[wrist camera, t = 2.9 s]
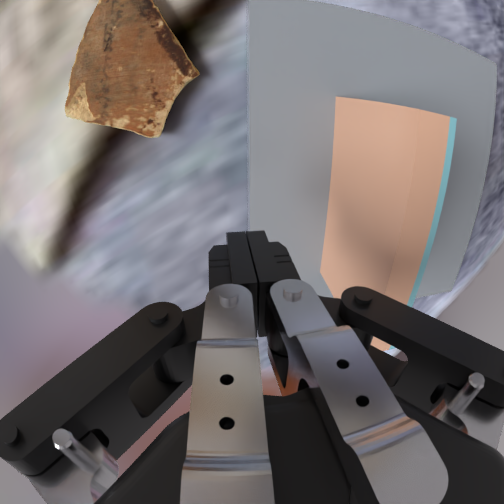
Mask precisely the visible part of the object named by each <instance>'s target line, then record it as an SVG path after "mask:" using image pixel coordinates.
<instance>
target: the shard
mask: <svg viewBox="0 0 504 504" xmlns="http://www.w3.org/2000/svg"><path fill="white" fill-rule="evenodd" d="M199 74H200V73H199V71H198V70H197V69H196V68H195V67H194V66H193V64H192V62H191V61H190V59H189V58H188V56H187V54H186V53H185V51H184V49H183V47H182V46H181V45H180V42H179V41H178V40H177V38H176V37H175V35H174V34H173V32H172V31H171V29H170V28H169V27H168V25H167V23H166V21H165V20H164V19H163V17H162V15H161V13H160V12H159V8H158V7H156V6H155V4H154V2H153V0H99V2H98V4H97V6H96V8H95V10H94V13H93V14H92V16H91V18H90V20H89V22H88V24H87V27H86V30H85V33H84V35H83V39H82V41H81V42H80V45H79V48H78V50H77V54H76V60H75V63H74V65H73V67H72V72H71V77H70V81H69V93H68V97H67V100H66V104H65V112H66V116H67V117H70V118H73V119H78V120H82V121H84V122H87V123H94V124H98V125H105V126H112V127H116V128H120V129H125V130H130V131H134V132H135V133H137V134H139V135H143V136H145V137H149V138H155V137H160V136H161V133H162V130H163V128H164V125H165V121H166V118H167V116H168V113H169V111H170V109H171V107H172V104H173V102H174V100H175V98H176V97H177V96H178V94H179V93H180V91H181V90H182V88H183V87H185V86H186V85H187V84H188V83H189V82H191V81H192V80H193V79H194V78H196V77H197V76H199Z"/></svg>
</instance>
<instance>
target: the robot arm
mask: <svg viewBox="0 0 504 504" xmlns="http://www.w3.org/2000/svg"><path fill="white" fill-rule="evenodd" d="M226 237H227V245H216V246H213V248H212V249H211V250H210V252H209V292H208V293H207V295H206V300H205V301H204V302H203V303H202V304H201V305H199V306H197V307H195V308H192V309H189V310H186V311H182V310H181V309H180V308H179V307H178V306H177V305H175V304H173V303H169V302H157V303H153V304H150V305H148V306H146V307H144V308H143V309H141V310H140V311H139V312H138V313H136V314H135V315H134V316H132V317H131V318H130V319H128V320H127V321H126V322H124V323H123V324H122V325H121V326H119V327H118V328H116V329H115V330H114V331H113V332H111V333H110V334H109V335H107V336H106V337H105V338H104V339H102V340H101V341H99V342H98V343H97V344H95V345H94V346H93V347H92V348H90V349H89V350H88V351H87V352H85V353H84V354H83V355H81V356H80V357H79V358H77V359H76V360H75V361H73V362H72V363H71V364H70V365H68V366H67V367H66V368H65V369H63V370H62V371H61V372H59V373H58V374H57V375H56V376H54V377H53V378H52V379H51V380H49V381H48V382H47V383H45V384H44V385H43V386H42V387H40V388H39V389H38V390H37V391H35V392H34V393H33V394H32V395H30V396H29V397H28V398H27V399H25V400H24V401H23V402H22V403H21V404H19V405H18V406H17V407H15V408H14V409H13V410H12V411H11V412H9V413H8V414H7V415H6V416H4V417H3V418H2V419H1V420H0V457H1V458H2V459H4V460H5V461H6V462H8V463H9V464H10V465H12V466H13V467H14V468H16V469H17V471H18V472H20V473H21V474H22V475H24V476H25V477H27V478H28V479H29V480H30V482H31V483H32V485H33V486H34V487H35V489H36V490H37V491H38V493H39V494H40V495H41V497H42V498H43V499H44V501H45V502H46V503H47V504H504V457H503V456H502V455H501V454H500V453H499V452H498V451H497V447H498V443H499V439H500V436H501V432H502V428H503V424H504V351H502V350H500V349H498V348H496V347H494V346H492V345H490V344H488V343H485V342H484V341H482V340H480V339H477V338H475V337H473V336H471V335H469V334H467V333H465V332H463V331H461V330H459V329H457V328H454V327H452V326H450V325H448V324H446V323H444V322H442V321H440V320H437V319H435V318H433V317H431V316H429V315H427V314H425V313H422V312H420V311H418V310H416V309H414V308H412V307H410V306H407V305H405V304H403V303H401V302H399V301H397V300H394V299H392V298H390V297H388V296H386V295H384V294H381V293H379V292H377V291H375V290H373V289H370V288H367V287H362V286H354V287H350V288H347V289H346V290H344V291H343V293H342V295H341V299H340V298H331V297H323V296H319V295H317V293H316V292H315V290H314V289H313V287H312V286H311V285H310V284H308V283H306V282H304V281H302V280H301V278H300V276H299V274H298V272H297V270H296V267H295V265H294V263H293V262H292V259H291V257H290V254H289V252H288V250H287V248H286V247H285V246H284V245H282V244H281V243H280V242H278V241H277V242H269V241H268V238H267V236H266V233H265V231H264V230H260V231H246V234H245V231H244V232H228V233H226ZM257 330H258V335H259V337H264V336H267V340H268V356H269V359H270V362H271V365H272V368H273V371H274V374H275V377H276V380H277V383H278V386H279V389H280V392H281V396H270V395H263V391H262V380H261V370H260V359H259V348H258V340H257V339H256V337H257ZM373 336H374V337H376V338H378V339H380V340H382V341H384V342H386V343H388V344H390V345H392V346H394V347H395V348H397V349H399V350H401V351H403V352H404V353H405V354H406V355H407V358H408V361H405V362H404V361H400V360H399V359H397V358H395V357H393V356H391V355H389V354H387V353H385V352H383V351H381V350H379V349H378V348H376V347H374V346H372V345H371V342H372V339H373ZM191 385H192V392H191V403H190V411H189V412H188V413H186V414H184V415H182V416H180V417H179V418H177V419H175V420H174V421H173V422H171V424H169V425H168V426H167V427H166V428H165V429H164V430H163V431H162V432H161V433H160V434H159V435H158V436H157V437H156V439H155V440H154V441H153V442H152V443H151V444H150V445H149V446H148V447H147V449H146V450H145V451H144V452H143V453H142V454H141V455H140V456H139V457H138V458H137V459H136V460H135V461H134V463H133V464H132V465H131V466H130V467H129V468H128V469H127V470H126V471H125V472H124V473H123V474H122V475H121V476H120V477H119V478H118V479H117V477H118V473H119V468H118V463H117V459H118V458H119V457H120V456H121V455H122V454H123V453H125V451H127V449H129V448H130V447H131V445H133V444H134V443H135V442H136V441H137V440H138V439H139V438H140V437H141V436H142V435H143V434H144V433H145V432H146V431H147V430H148V429H149V428H150V427H151V426H152V425H153V424H154V423H155V422H156V421H157V420H158V419H159V418H160V417H161V416H162V415H163V414H164V413H165V412H166V411H167V410H168V409H169V408H170V407H171V406H172V405H173V404H174V403H175V402H176V401H177V400H178V398H180V397H181V396H182V395H183V393H184V392H185V391H186V390H187V389H188V388H189V387H190V386H191ZM116 479H117V480H116Z"/></svg>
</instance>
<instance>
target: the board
mask: <svg viewBox="0 0 504 504" xmlns="http://www.w3.org/2000/svg"><path fill="white" fill-rule="evenodd" d="M496 84H497V64H496V63H494V62H492V61H490V60H489V59H487V58H485V57H483V56H481V55H479V54H477V53H475V52H473V51H471V50H469V49H467V48H465V47H463V46H461V45H459V44H457V43H455V42H452V41H450V40H448V39H446V38H443V37H441V36H438V35H436V34H434V33H431V32H428V31H426V30H423V29H421V28H418V27H415V26H412V25H409V24H406V23H403V22H400V21H397V20H394V19H391V18H387V17H384V16H380V15H377V14H373V13H369V12H365V11H361V10H357V9H353V8H348V7H343V6H338V5H333V4H327V3H321V2H315V1H308V0H247V183H248V231H260V230H264V231H265V233H266V236H267V238H268V241H269V242H277V241H278V242H280V243H281V244H282V245H284V246H285V247H286V248H287V250H288V252H289V254H290V257H291V259H292V262H293V263H294V265H295V267H296V270H297V272H298V274H299V276H300V278H301V280H302V281H304V282H306V283H308V284H310V285H311V286H312V287H313V289H314V290H315V292H316V293H317V295H319V296H323V297H331V298H334V297H333V295H332V293H331V291H330V289H329V288H328V286H327V284H326V282H325V280H324V278H323V277H322V275H321V273H320V268H321V260H322V253H323V245H324V237H325V229H326V220H327V211H328V201H329V191H330V180H331V168H332V155H333V140H334V124H335V102H336V97H346V98H354V99H362V100H370V101H376V102H383V103H389V104H395V105H400V106H406V107H411V108H416V109H421V110H425V111H429V112H433V113H438V114H442V115H445V116H449V117H453V118H456V119H457V122H456V131H455V139H454V147H453V153H452V160H451V166H450V172H449V177H448V183H447V188H446V193H445V197H444V202H443V206H442V211H441V215H440V219H439V223H438V227H437V231H436V234H435V238H434V242H433V245H432V249H431V252H430V255H429V259H428V262H427V265H426V268H425V271H424V274H423V277H422V280H421V283H420V286H419V289H418V292H417V295H416V297H415V298H419V297H425V296H430V295H435V294H440V293H445V292H450V291H451V290H452V288H453V285H454V283H455V280H456V277H457V275H458V272H459V269H460V267H461V264H462V261H463V258H464V255H465V252H466V249H467V246H468V243H469V240H470V237H471V233H472V230H473V227H474V223H475V220H476V216H477V212H478V208H479V204H480V200H481V196H482V192H483V187H484V183H485V178H486V173H487V167H488V162H489V156H490V149H491V143H492V135H493V127H494V117H495V104H496Z"/></svg>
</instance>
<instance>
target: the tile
mask: <svg viewBox="0 0 504 504" xmlns="http://www.w3.org/2000/svg"><path fill="white" fill-rule="evenodd" d="M456 122H457V119H456V118H453V117H449V116H445V115H442V114H438V113H433V112H429V111H425V110H421V109H416V108H411V107H406V106H400V105H395V104H389V103H383V102H376V101H370V100H362V99H354V98H346V97H336V102H335V124H334V140H333V155H332V168H331V180H330V191H329V201H328V211H327V220H326V229H325V237H324V245H323V253H322V260H321V268H320V273H321V275H322V277H323V278H324V280H325V282H326V284H327V286H328V288H329V289H330V291H331V293H332V295H333V297H334V298H340V299H341V295H342V293H343V291H344V290H346V289H347V288H350V287H354V286H362V287H367V288H370V289H373V290H375V291H377V292H379V293H381V294H384V295H386V296H388V297H390V298H392V299H394V300H397V301H399V302H401V303H403V304H405V305H407V306H410V307H412V305H413V303H414V300H415V297H416V295H417V292H418V289H419V286H420V283H421V280H422V277H423V274H424V271H425V268H426V265H427V262H428V259H429V255H430V252H431V249H432V245H433V242H434V238H435V234H436V231H437V227H438V223H439V219H440V215H441V211H442V206H443V202H444V197H445V193H446V188H447V183H448V177H449V172H450V166H451V160H452V153H453V147H454V139H455V131H456ZM371 345H372V346H374V347H376V348H378V349H379V350H381V351H385V350H389V349H393V348H395V347H394V346H392V345H390V344H388V343H386V342H384V341H382V340H380V339H378V338H376V337H374V336H373V339H372V342H371Z"/></svg>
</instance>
